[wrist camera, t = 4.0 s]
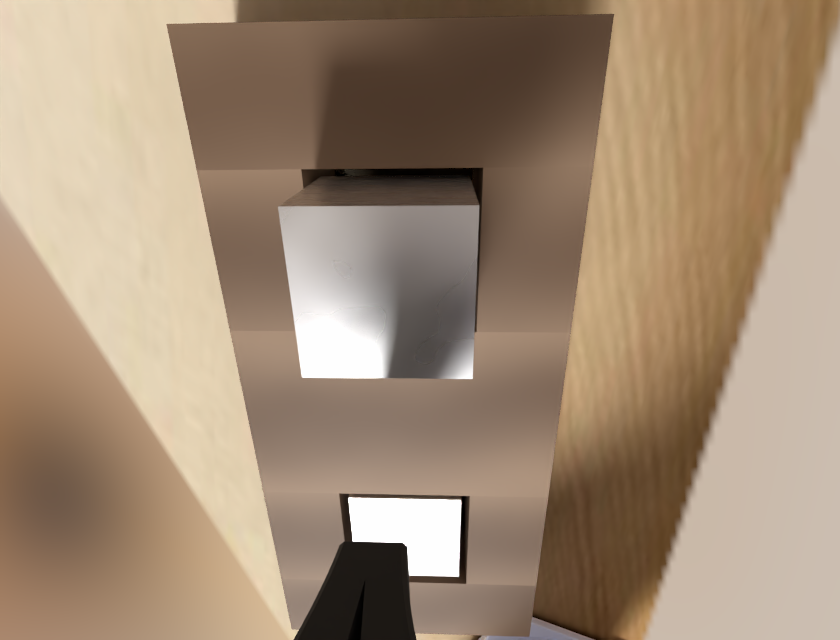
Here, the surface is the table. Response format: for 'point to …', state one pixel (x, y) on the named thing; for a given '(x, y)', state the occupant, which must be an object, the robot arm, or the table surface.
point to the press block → (495, 287)
